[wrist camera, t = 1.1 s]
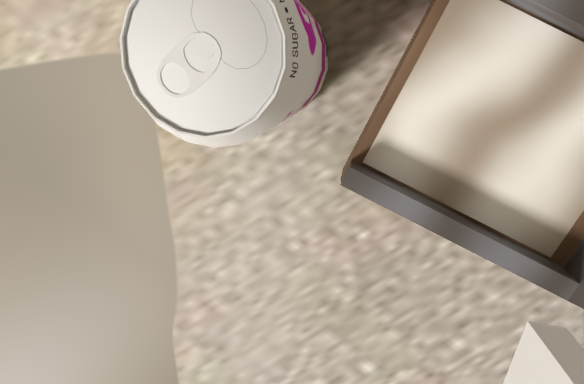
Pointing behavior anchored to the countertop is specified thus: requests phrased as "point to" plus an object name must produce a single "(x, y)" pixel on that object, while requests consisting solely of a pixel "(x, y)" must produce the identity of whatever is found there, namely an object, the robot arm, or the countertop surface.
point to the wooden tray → (487, 136)
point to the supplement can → (222, 65)
